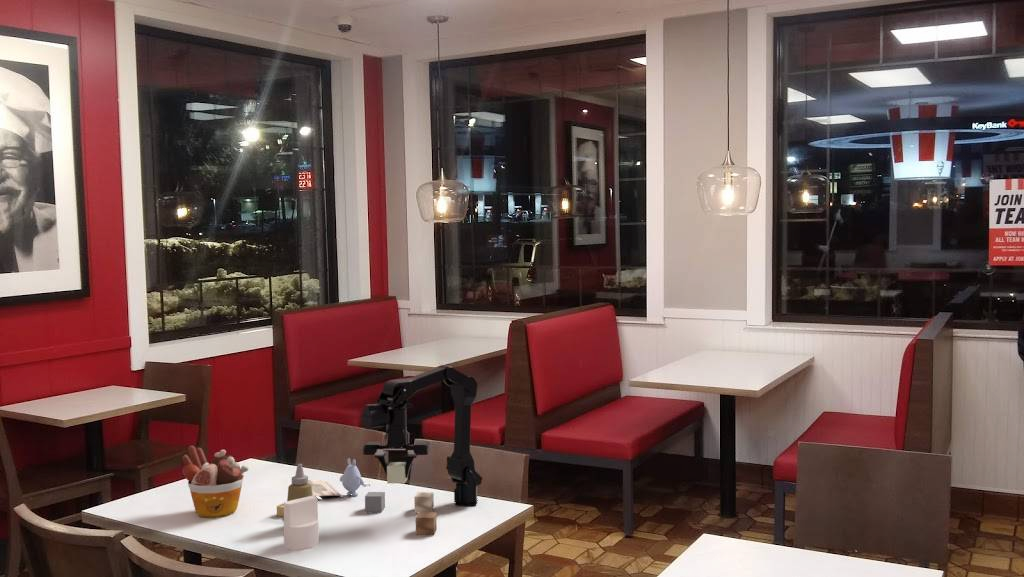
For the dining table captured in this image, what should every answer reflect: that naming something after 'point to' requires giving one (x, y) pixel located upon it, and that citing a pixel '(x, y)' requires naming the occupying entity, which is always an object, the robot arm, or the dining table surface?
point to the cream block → (424, 501)
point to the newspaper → (322, 488)
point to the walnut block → (426, 523)
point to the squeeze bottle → (299, 485)
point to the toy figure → (351, 478)
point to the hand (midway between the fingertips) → (397, 477)
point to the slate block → (374, 502)
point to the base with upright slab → (301, 523)
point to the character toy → (280, 510)
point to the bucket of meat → (213, 482)
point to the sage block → (396, 472)
